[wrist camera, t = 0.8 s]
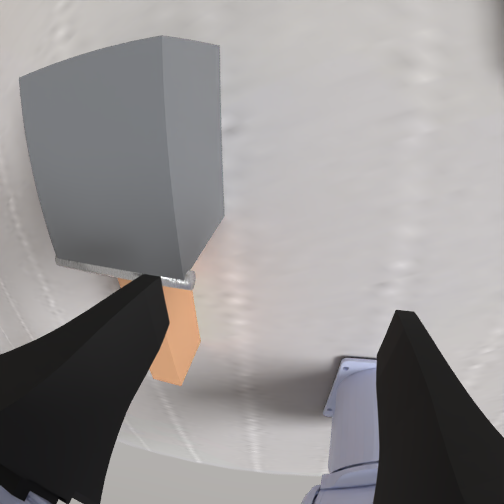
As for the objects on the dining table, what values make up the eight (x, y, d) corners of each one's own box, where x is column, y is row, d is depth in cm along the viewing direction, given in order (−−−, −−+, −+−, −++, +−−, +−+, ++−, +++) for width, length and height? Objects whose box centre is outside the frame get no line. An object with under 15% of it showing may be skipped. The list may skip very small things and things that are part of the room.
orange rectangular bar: (201, 340, 26) (181, 385, 22) (175, 334, 27) (153, 378, 22) (176, 149, 17) (132, 178, 13) (142, 150, 18) (93, 178, 14)
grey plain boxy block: (227, 227, 19) (189, 294, 14) (114, 217, 21) (58, 269, 15) (223, 45, 14) (166, 34, 8) (94, 65, 15) (16, 78, 10)
